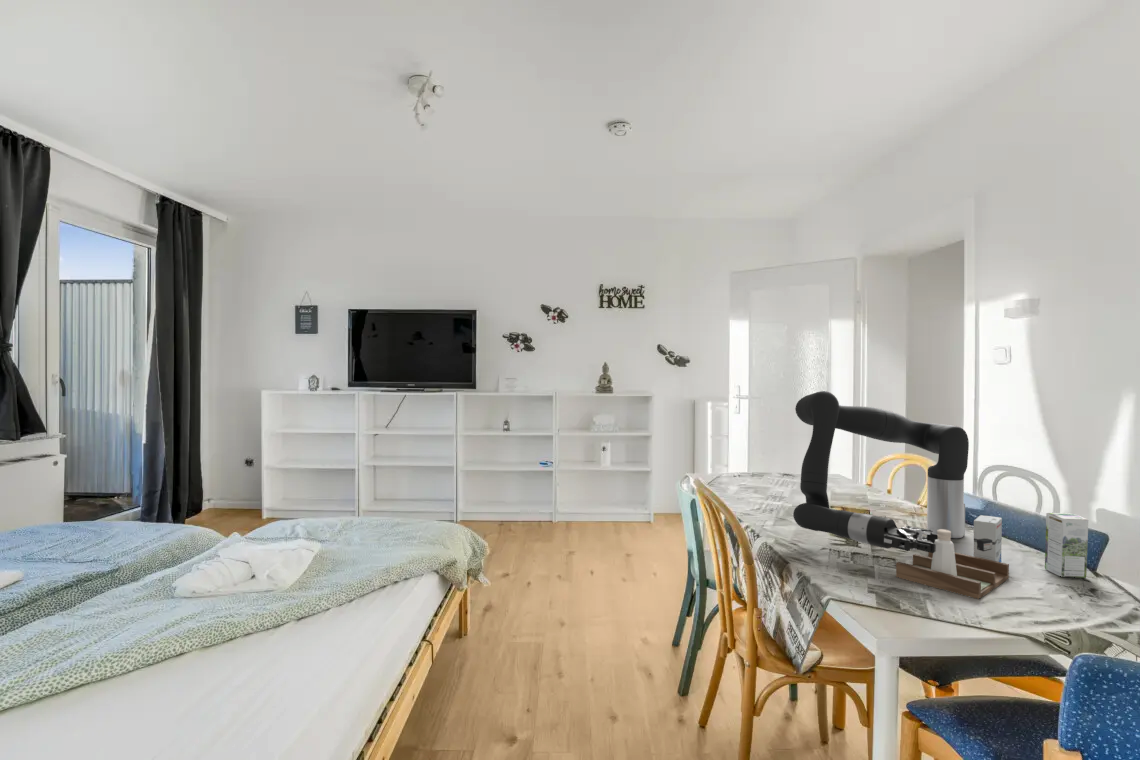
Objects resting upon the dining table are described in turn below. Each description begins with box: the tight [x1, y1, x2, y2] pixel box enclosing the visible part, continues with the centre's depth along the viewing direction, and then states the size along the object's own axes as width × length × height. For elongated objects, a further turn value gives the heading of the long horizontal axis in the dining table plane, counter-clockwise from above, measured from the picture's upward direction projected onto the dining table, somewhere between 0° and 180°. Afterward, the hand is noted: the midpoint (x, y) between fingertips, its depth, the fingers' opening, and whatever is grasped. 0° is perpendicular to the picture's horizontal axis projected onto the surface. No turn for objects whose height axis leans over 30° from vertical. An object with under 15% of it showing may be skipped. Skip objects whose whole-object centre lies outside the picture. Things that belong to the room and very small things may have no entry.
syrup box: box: [1044, 512, 1089, 579], centre depth 140 cm, size 6×6×14 cm
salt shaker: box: [931, 529, 957, 576], centre depth 135 cm, size 5×5×11 cm
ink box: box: [973, 514, 1003, 563], centre depth 148 cm, size 8×5×12 cm, turn 135°
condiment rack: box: [895, 551, 1010, 600], centre depth 138 cm, size 20×17×4 cm
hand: (942, 544), depth 135 cm, fingers open, 8 cm apart
